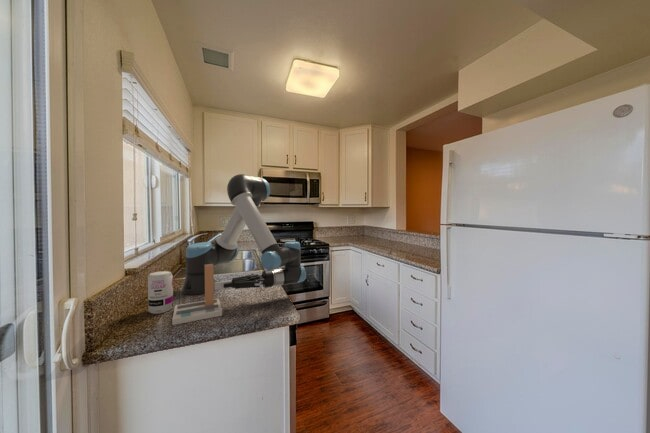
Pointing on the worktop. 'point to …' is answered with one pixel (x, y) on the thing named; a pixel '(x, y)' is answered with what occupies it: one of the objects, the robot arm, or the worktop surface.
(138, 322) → the worktop surface
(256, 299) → the worktop surface
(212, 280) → the orange rectangular block
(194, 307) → the switch base
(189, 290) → the robot arm
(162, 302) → the supplement can
